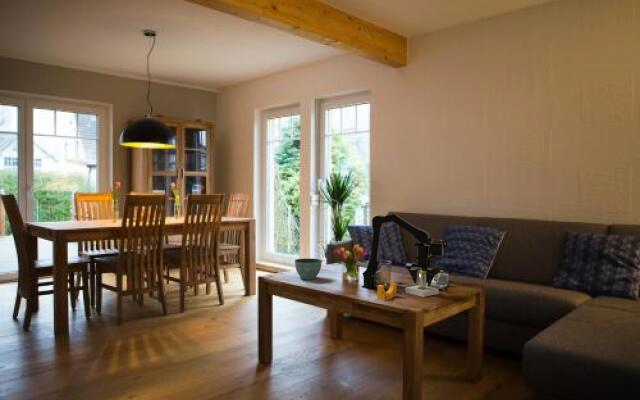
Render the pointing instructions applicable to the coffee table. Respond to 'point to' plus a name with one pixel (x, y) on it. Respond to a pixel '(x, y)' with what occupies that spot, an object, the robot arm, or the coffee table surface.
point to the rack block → (422, 291)
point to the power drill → (435, 256)
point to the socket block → (401, 285)
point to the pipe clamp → (386, 295)
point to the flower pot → (308, 268)
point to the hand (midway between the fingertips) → (422, 284)
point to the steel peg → (422, 281)
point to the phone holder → (440, 281)
